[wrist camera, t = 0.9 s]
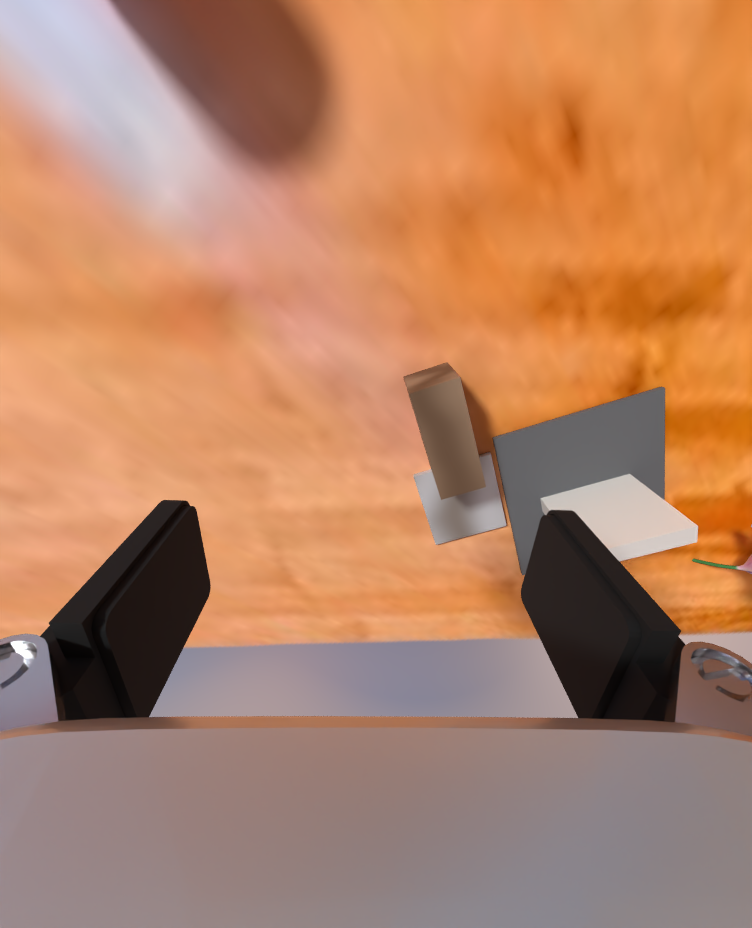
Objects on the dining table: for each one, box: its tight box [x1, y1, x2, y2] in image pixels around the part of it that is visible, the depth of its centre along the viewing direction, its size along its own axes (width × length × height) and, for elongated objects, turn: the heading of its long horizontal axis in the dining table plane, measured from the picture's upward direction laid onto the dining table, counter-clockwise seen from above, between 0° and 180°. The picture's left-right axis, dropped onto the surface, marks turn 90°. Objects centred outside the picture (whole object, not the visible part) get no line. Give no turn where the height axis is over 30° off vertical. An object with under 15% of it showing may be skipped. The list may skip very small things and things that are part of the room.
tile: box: [540, 474, 698, 561], centre depth 32 cm, size 8×2×8 cm, turn 108°
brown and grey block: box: [404, 362, 507, 545], centre depth 32 cm, size 7×17×5 cm, turn 18°
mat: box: [493, 387, 665, 575], centre depth 35 cm, size 14×16×1 cm
